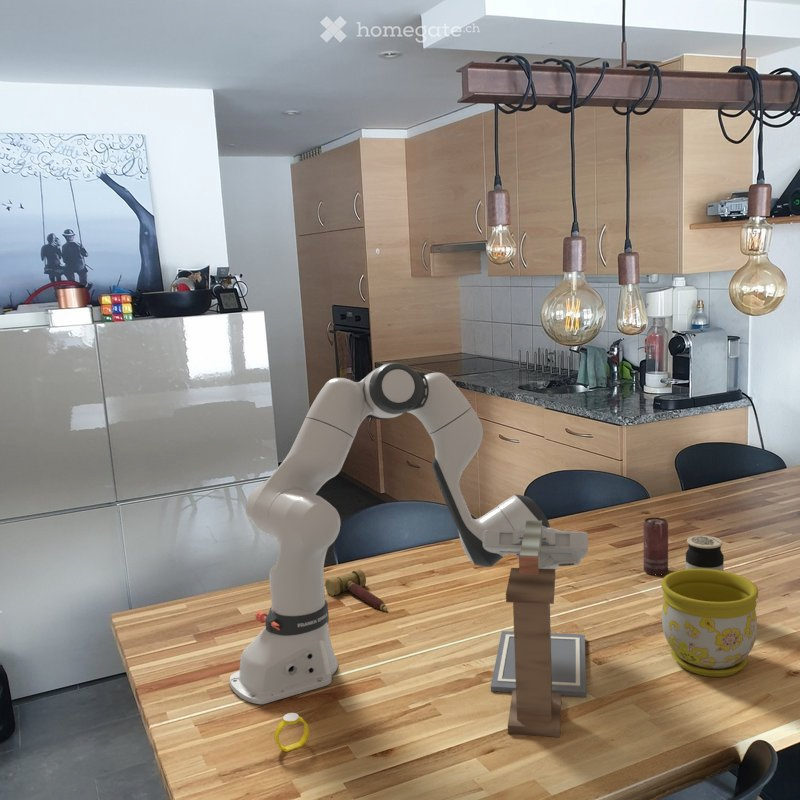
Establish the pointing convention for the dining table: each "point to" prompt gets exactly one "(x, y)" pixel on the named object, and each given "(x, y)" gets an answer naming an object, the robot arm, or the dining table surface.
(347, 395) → the robot arm
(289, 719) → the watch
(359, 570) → the gavel
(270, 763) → the dining table surface
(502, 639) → the mat
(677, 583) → the flowerpot
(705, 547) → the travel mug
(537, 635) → the stand
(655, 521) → the can
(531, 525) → the grey green bar
